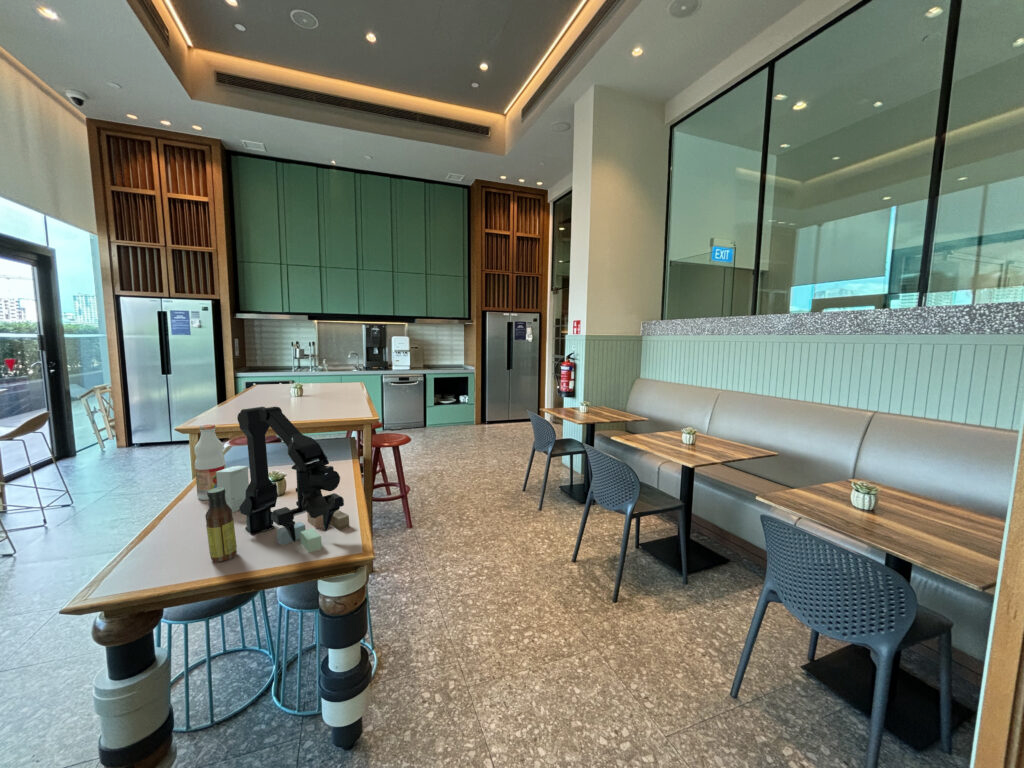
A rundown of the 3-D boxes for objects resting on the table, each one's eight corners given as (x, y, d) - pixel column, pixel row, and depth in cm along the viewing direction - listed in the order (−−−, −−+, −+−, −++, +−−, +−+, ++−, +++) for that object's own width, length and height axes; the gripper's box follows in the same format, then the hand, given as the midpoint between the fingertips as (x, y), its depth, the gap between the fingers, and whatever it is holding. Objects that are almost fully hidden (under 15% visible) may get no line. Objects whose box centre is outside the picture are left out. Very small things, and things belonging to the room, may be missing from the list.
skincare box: (232, 513, 144) (229, 472, 142) (217, 512, 145) (214, 471, 143) (251, 504, 152) (248, 465, 150) (237, 503, 153) (234, 464, 151)
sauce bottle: (236, 549, 119) (232, 483, 117) (237, 558, 114) (233, 490, 112) (208, 556, 115) (203, 488, 113) (208, 566, 110) (203, 495, 108)
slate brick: (282, 545, 122) (281, 532, 121) (277, 542, 124) (276, 529, 124) (305, 536, 127) (305, 524, 127) (300, 533, 129) (300, 521, 129)
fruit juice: (202, 493, 163) (197, 424, 160) (230, 490, 166) (225, 422, 163) (193, 501, 154) (187, 429, 151) (222, 498, 157) (217, 427, 154)
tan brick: (326, 525, 135) (326, 513, 135) (315, 528, 133) (315, 517, 132) (318, 519, 140) (317, 507, 140) (307, 522, 137) (307, 510, 137)
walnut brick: (349, 527, 134) (348, 515, 134) (339, 531, 131) (338, 519, 131) (338, 521, 138) (338, 509, 138) (328, 524, 136) (328, 513, 135)
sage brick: (321, 548, 120) (320, 535, 120) (308, 553, 118) (308, 539, 117) (313, 540, 125) (312, 528, 125) (301, 544, 123) (300, 531, 122)
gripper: (284, 501, 107) (287, 557, 109) (352, 483, 121) (353, 533, 123) (269, 491, 114) (272, 544, 116) (334, 475, 128) (336, 522, 130)
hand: (310, 535), depth 121 cm, fingers open, 9 cm apart
